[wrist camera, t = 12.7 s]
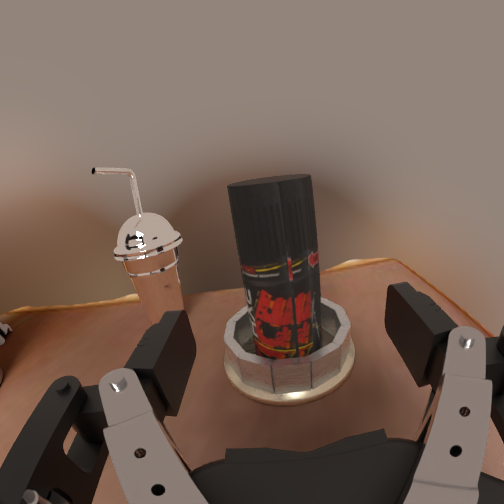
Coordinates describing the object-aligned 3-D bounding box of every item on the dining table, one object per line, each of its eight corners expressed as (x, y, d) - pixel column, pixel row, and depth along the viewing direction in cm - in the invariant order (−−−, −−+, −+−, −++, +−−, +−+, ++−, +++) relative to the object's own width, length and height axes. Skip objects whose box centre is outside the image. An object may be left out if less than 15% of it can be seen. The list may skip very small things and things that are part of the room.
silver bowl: (217, 409, 19) (205, 377, 18) (232, 327, 30) (226, 298, 29) (369, 392, 18) (376, 358, 17) (338, 315, 29) (338, 284, 28)
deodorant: (243, 353, 24) (211, 187, 20) (290, 326, 28) (272, 175, 23) (287, 384, 20) (263, 185, 15) (335, 348, 23) (328, 173, 18)
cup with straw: (212, 318, 33) (178, 148, 26) (145, 349, 28) (92, 165, 21) (183, 297, 39) (153, 159, 33) (127, 320, 34) (87, 174, 28)
